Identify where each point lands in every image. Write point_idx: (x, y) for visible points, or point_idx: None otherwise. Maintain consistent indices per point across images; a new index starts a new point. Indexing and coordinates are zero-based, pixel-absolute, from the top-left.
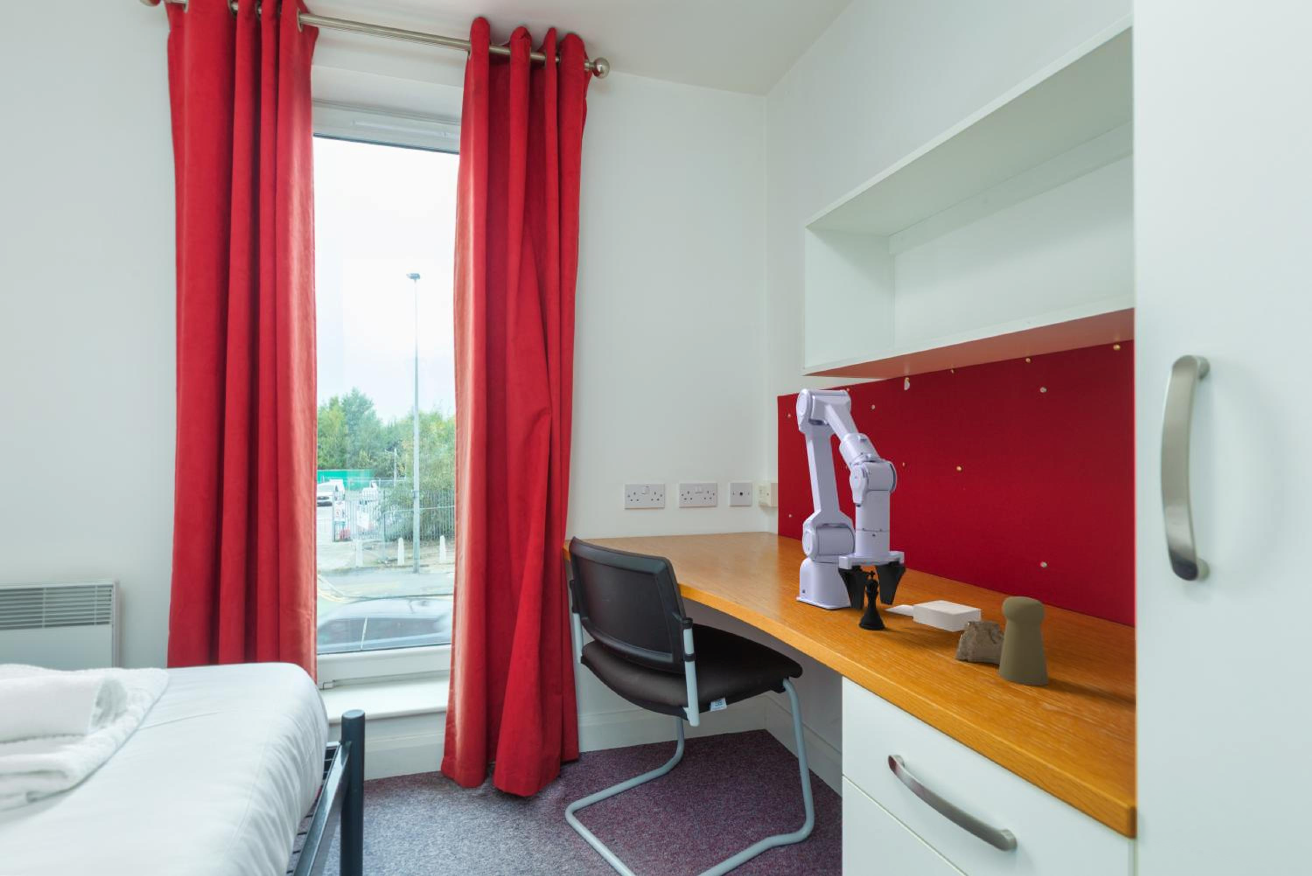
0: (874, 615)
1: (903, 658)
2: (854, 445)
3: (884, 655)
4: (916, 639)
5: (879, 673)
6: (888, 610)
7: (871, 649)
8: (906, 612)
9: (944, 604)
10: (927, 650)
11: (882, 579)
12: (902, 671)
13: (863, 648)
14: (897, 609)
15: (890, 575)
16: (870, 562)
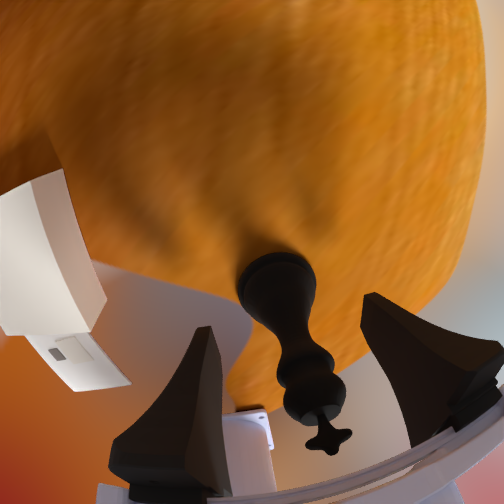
0: (297, 290)
1: (409, 32)
2: None
3: (432, 71)
4: (244, 123)
5: (479, 31)
6: (127, 379)
7: (431, 116)
8: (92, 355)
9: (8, 300)
10: (304, 28)
11: (218, 432)
12: (448, 5)
13: (440, 132)
14: (102, 376)
15: (206, 436)
16: (358, 486)
